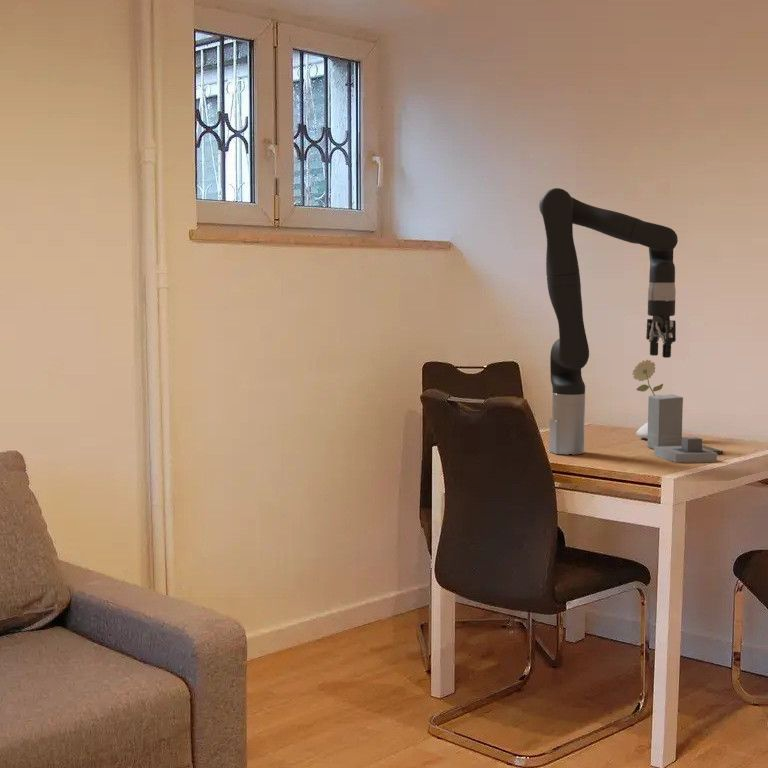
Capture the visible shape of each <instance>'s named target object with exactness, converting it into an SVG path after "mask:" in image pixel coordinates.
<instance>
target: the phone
mask: <svg viewBox="0 0 768 768" xmlns="http://www.w3.org/2000/svg"><path fill="white" fill-rule="evenodd" d="M702 448H703V449H706V450H709V451H712V452H715V453H717V454H718V455H723V454H724V451H723V450H720V449H718V448H717V449H716V448H715V447H712V446H707V445H704V444H702Z"/></svg>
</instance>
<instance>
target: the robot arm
mask: <svg viewBox="0 0 768 768" xmlns="http://www.w3.org/2000/svg"><path fill="white" fill-rule="evenodd" d="M538 206H539V212H540V214H541V215H542V218H543V219H542V220H543V223H544V230H545V236H546V255H545V262H546V263H545V269H546V270H545V271H546V273H545V274H546V282H547V283H546V284H547V290H548V296H549V299H550V300H549V301H550V303H551V305H552V308H553V311H554V314H555V316H556V320H557V324H558V335H559V336H558V337H559V338H558V339H557V340H555V341H554V342H553V344H552V346H551V348H550V358H549V360H550V362H549V363H550V367H549V369H550V373H549V374H550V382H551V383H550V384H551V385H552V386H551V387H552V404H551V405H552V407H551V408H552V410H551V415H552V416H551V418H550V419H549V439H548V441H549V452H551V453H553V454H555V455H569V454H572V455H581V454H584V453H585V422H586V421H585V417H586V416H585V415H586V413H585V411H586V384H585V382H584V380H583V377H582V369H583V368H584V367H585V366H586V365H587V363H588V361H589V357H590V347H589V343H588V337H587V334H586V328H585V323H584V315H583V314H584V313H583V301H582V298H583V297H582V285H581V276H580V275H581V274H580V267H579V259H578V256H577V250H576V249H577V248H576V246H575V245H576V244H575V241H574V233H573V232H574V231H573V229H574V228H573V226H574V225H577V226H581V227H585V228H587V229H591V230H592V231H596V232H599V233H601V234H603V235H606V236H608V237H612V238H613V239H618V240H621V241H623V242H627V243H630V244H637V245H641V246H644V247H647V248H648V254H649V255H648V256H649V262H650V263H649V276H648V277H649V279H648V280H649V281H648V283H649V284H648V290H647V315H648V316H649V317H652V318H648V319H647V321H646V336H645V339H646V340H648V342H649V355H650V356H656V357H657V356H658V355H659V341H660V339H661V341H662V352H661V353H662V354H661V355H662V358H671V356H672V344H674V343H676V341H677V340H676V339H677V338H676V337H677V336H676V329H677V328H676V320H671V318H670V317H674V316H675V315H676V295H677V294H676V292H677V290H676V266H675V263H674V249H675V248H676V247H677V245H678V241H679V240H678V239H679V238H678V234H677V233H676V231H675V230H674V229H672V228H671V227H668V226H665V225H661V224H658V223H654V222H648V221H644V220H642V219H640V218H637V217H634V216H631V215H628V214H625V213H622V212H617V211H614V210H610V209H606V208H601V207H597V206H594V205H590V204H589V203H588V204H587V203H585V202H582V201H580V200H578V199H576V198H575V197H573V196H571V195H570V193H569V192H568V191H567V190H565V189H563V188H558V187H555V188H551V189H549V190H547V191H546V192H545V193H544V194H543V195H542V196H541V198H540V200H539V204H538Z"/></svg>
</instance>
